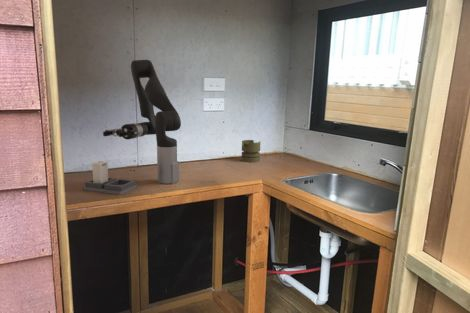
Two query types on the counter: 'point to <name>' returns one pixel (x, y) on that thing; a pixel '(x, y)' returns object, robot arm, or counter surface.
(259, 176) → the counter surface
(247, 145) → the piston
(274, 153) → the counter surface
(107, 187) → the grey flat tray
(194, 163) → the counter surface
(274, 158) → the counter surface
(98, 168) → the block
